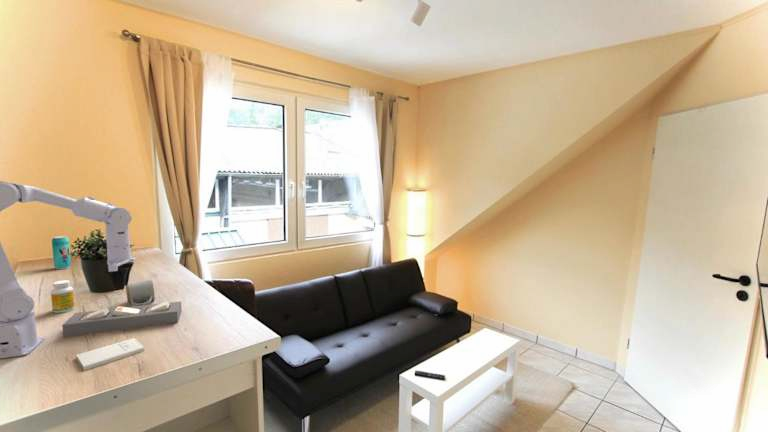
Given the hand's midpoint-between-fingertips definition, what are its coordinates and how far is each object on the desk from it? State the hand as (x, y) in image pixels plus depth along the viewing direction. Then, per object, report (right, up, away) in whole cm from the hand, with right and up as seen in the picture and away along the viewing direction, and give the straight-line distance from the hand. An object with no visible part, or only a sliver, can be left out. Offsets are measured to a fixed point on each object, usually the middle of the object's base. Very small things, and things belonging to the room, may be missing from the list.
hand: (121, 287), depth 108 cm
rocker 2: (+3, -7, -2) cm, 8 cm away
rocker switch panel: (+3, -11, -2) cm, 11 cm away
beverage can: (-68, -2, +53) cm, 86 cm away
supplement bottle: (-25, -9, +7) cm, 27 cm away
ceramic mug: (-4, -9, +15) cm, 18 cm away
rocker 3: (+11, -7, +1) cm, 13 cm away
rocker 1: (-4, -7, -5) cm, 10 cm away
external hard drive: (+12, -14, -19) cm, 27 cm away
